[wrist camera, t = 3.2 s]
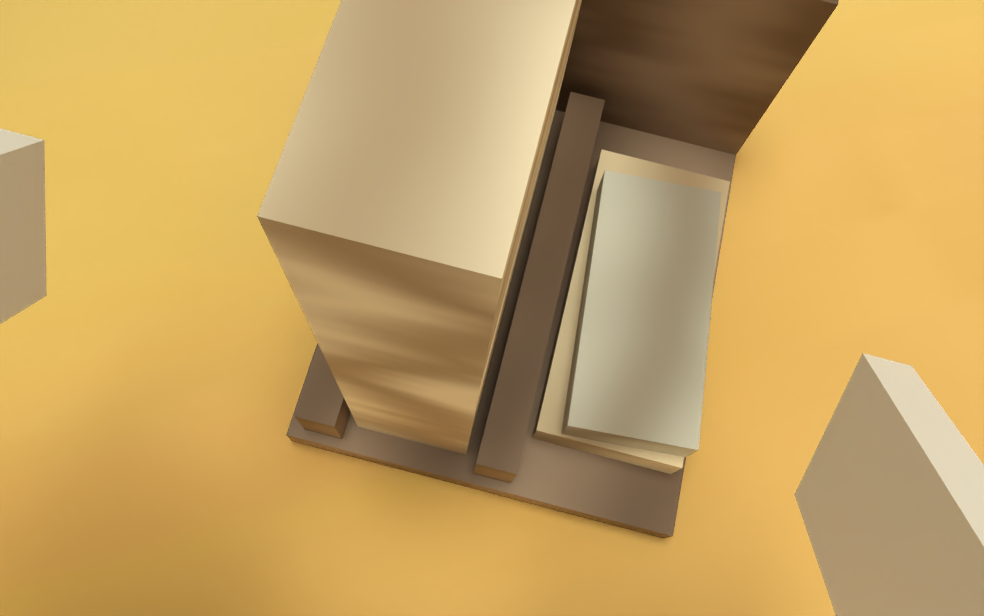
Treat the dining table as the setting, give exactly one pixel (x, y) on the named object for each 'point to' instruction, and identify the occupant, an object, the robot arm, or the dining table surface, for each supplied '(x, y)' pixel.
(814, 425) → the dining table surface
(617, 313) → the offcut stack
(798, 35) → the walnut rack
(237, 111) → the dining table surface
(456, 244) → the birch board
